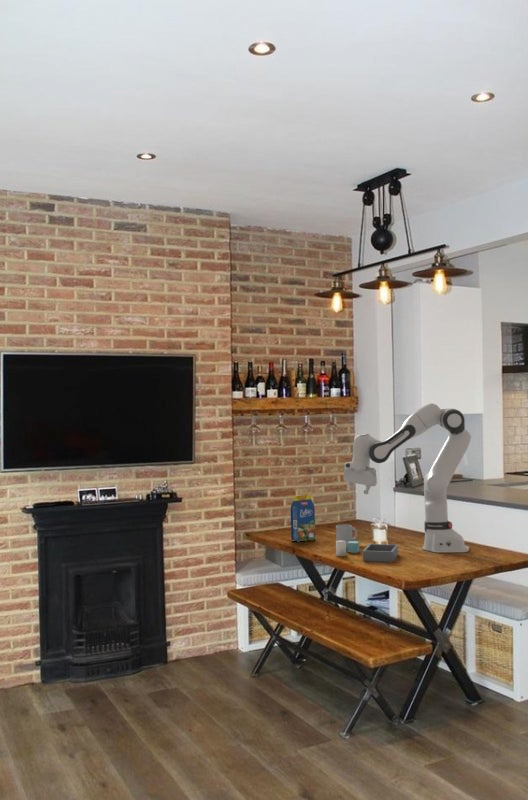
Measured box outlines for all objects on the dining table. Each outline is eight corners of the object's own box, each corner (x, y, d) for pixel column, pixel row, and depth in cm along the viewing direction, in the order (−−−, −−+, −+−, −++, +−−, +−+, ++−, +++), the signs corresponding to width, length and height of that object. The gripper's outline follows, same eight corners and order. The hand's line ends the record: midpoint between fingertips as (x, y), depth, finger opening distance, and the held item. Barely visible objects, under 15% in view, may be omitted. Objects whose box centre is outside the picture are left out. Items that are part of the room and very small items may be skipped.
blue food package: (315, 540, 407) (314, 494, 408) (298, 542, 401) (296, 496, 401) (308, 538, 413) (307, 493, 413) (291, 541, 406) (290, 495, 406)
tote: (398, 555, 361) (398, 544, 361) (392, 562, 343) (392, 551, 344) (369, 554, 365) (369, 543, 365) (363, 561, 348) (362, 550, 348)
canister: (347, 554, 365) (346, 540, 365) (345, 556, 360) (344, 542, 360) (337, 554, 366) (337, 540, 367) (335, 556, 362) (334, 542, 362)
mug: (341, 548, 380) (341, 527, 380) (333, 546, 388) (332, 525, 388) (361, 546, 385) (360, 525, 386) (352, 543, 393) (352, 523, 393)
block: (359, 551, 373) (359, 541, 373) (357, 553, 368) (357, 543, 368) (349, 550, 375) (349, 541, 375) (347, 552, 370) (347, 542, 370)
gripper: (380, 467, 371) (378, 495, 371) (350, 463, 387) (349, 489, 387) (371, 468, 367) (370, 496, 367) (342, 463, 383) (340, 490, 383)
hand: (359, 492), depth 377 cm, fingers open, 8 cm apart
